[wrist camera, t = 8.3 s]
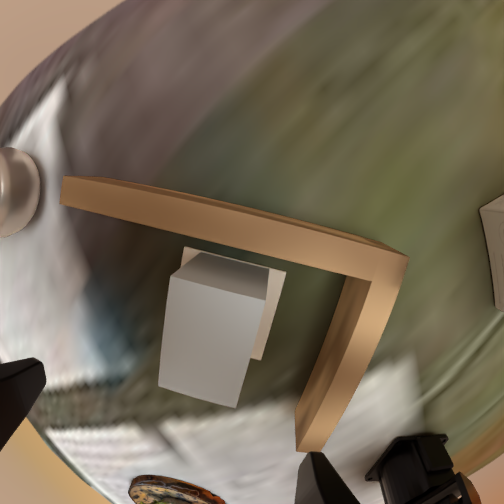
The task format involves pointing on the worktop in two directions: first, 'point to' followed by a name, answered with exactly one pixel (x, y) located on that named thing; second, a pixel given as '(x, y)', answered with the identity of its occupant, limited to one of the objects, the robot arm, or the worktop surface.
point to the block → (211, 327)
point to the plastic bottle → (17, 190)
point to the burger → (168, 491)
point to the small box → (495, 245)
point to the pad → (271, 302)
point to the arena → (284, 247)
